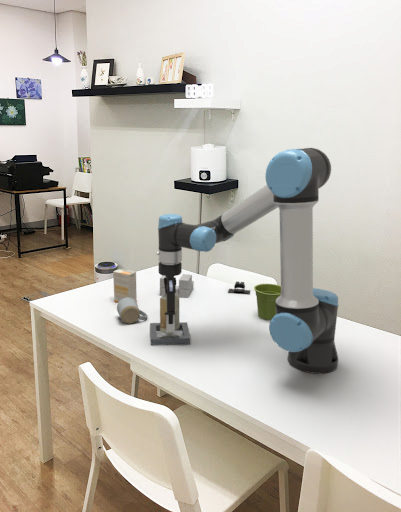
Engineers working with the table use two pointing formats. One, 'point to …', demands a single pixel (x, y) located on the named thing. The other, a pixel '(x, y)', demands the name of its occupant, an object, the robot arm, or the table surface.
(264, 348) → the table surface
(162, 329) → the skincare box
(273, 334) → the robot arm
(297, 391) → the table surface
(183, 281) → the puzzle cube
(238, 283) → the black bracket
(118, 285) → the supplement box
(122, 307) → the ceramic mug
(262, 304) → the plant pot
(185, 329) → the grey frame stand
